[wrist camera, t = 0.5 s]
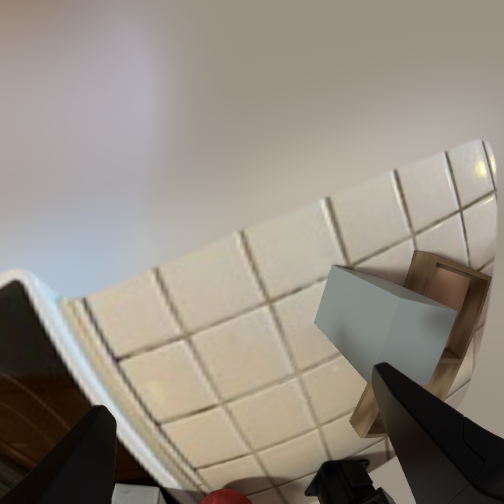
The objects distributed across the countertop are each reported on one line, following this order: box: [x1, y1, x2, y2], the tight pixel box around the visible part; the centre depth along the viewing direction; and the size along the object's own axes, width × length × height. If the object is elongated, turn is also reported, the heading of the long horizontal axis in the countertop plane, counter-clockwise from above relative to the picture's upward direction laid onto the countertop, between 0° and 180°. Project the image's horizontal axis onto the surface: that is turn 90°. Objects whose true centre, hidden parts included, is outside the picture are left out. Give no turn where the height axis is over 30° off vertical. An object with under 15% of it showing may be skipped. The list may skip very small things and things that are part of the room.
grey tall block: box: [314, 265, 458, 385], centre depth 20 cm, size 5×5×10 cm
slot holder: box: [349, 250, 492, 438], centre depth 25 cm, size 18×9×3 cm, turn 165°
